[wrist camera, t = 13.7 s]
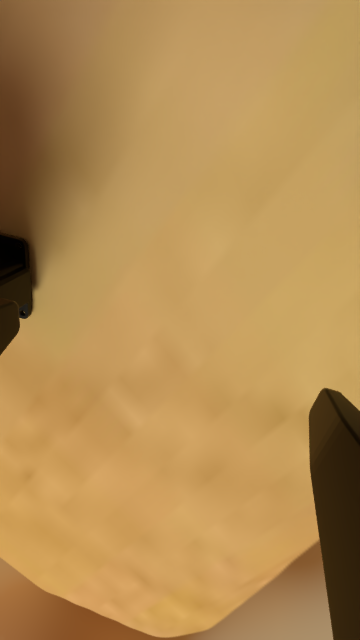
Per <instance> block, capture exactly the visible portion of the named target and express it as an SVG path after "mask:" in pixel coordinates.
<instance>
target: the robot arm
mask: <svg viewBox="0 0 360 640" xmlns="http://www.w3.org/2000/svg"><path fill="white" fill-rule="evenodd" d="M19 243H20V244H21V246H22V248H21V247H20V246H19ZM23 311H24V312H25V313H24V312H23ZM30 315H31V276H30V270H29V249H28V243H27V242H26V241H25V240H24V239H22V238H19V237H15V236H11V235H8V234H4V233H0V355H1V354H2V353H3V351H4V350H5V349H6V347H7V346H8V345H9V344H10V342H11V341H12V340H13V339H14V337H15V336H16V335H17V333H18V331H19V328H20V321H19V318H23V319H26V318H28V317H29V316H30ZM309 449H310V472H311V480H312V488H313V495H314V502H315V509H316V516H317V524H318V531H319V538H320V545H321V553H322V560H323V567H324V574H325V582H326V589H327V596H328V603H329V610H330V618H331V625H332V631H333V639H334V640H360V411H359V410H358V409H357V408H356V407H355V406H354V405H353V404H352V403H351V402H350V401H349V400H348V399H347V398H345V397H344V396H343V395H342V394H341V393H340V392H338V391H335V390H331V389H328V388H324V389H322V390H321V391H320V393H319V395H318V397H317V399H316V400H315V402H314V404H313V406H312V408H311V410H310V413H309Z"/></svg>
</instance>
